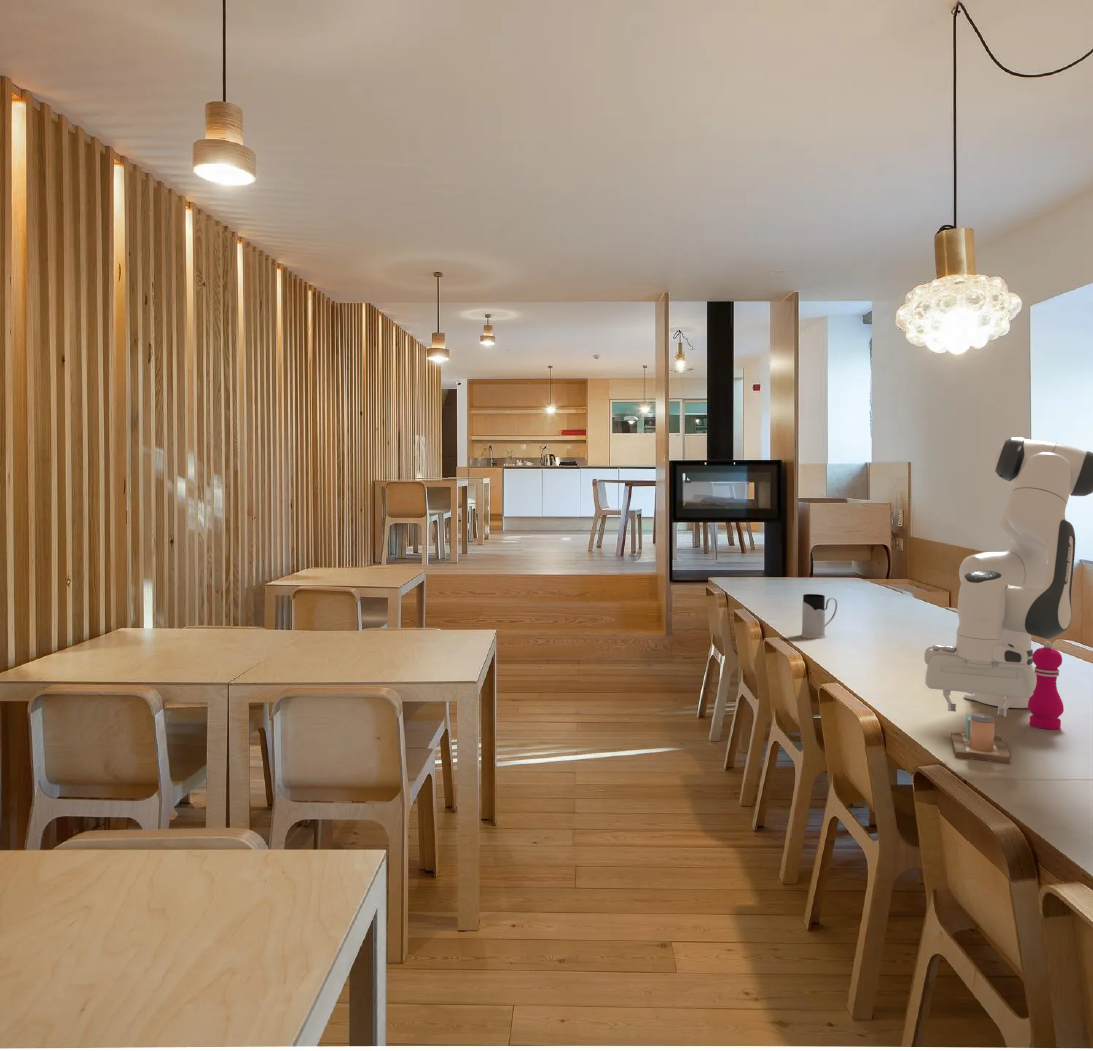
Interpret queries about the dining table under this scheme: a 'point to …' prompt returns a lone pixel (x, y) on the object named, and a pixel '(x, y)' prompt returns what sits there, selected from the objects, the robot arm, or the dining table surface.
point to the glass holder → (814, 616)
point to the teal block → (968, 726)
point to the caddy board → (965, 751)
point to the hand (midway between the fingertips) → (976, 713)
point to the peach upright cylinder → (982, 732)
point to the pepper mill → (1046, 689)
